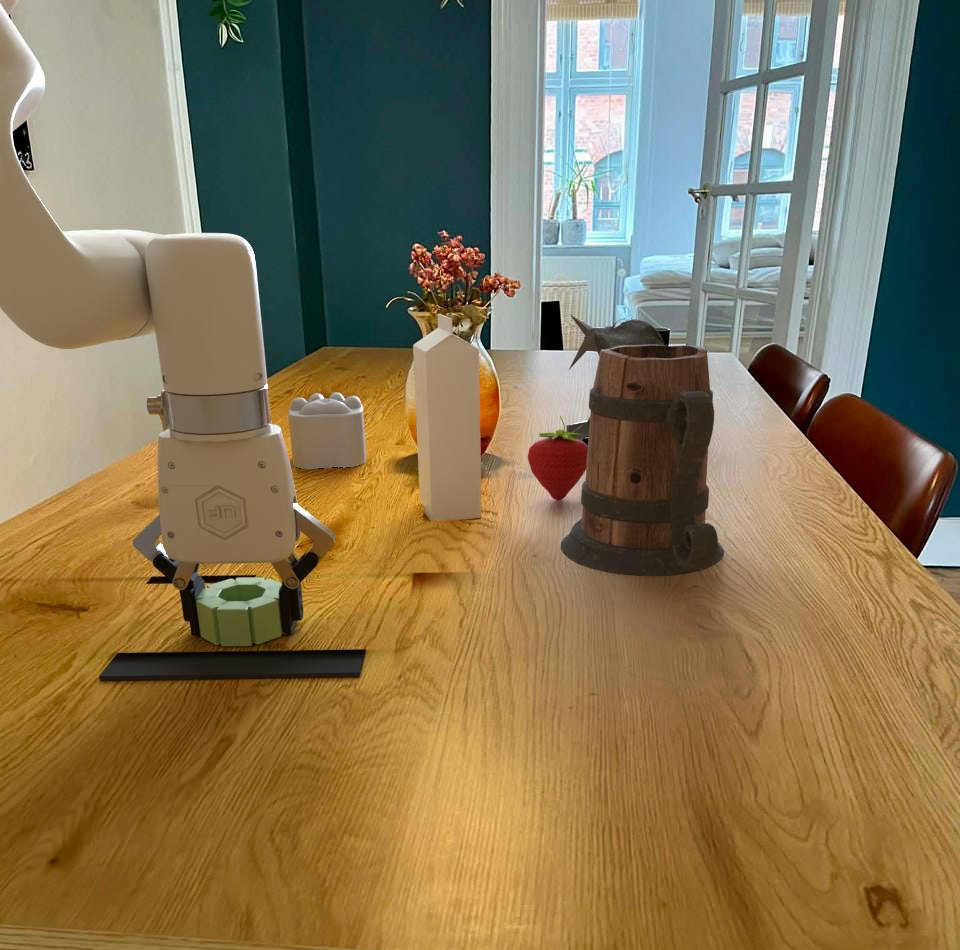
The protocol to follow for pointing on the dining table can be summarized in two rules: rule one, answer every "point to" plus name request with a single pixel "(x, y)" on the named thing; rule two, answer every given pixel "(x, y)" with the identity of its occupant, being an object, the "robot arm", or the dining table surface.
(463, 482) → the milk
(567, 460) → the strawberry
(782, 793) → the dining table surface
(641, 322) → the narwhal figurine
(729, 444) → the dining table surface
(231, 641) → the ring
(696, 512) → the tankard
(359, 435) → the lumpy-topped squat cylinder
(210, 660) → the mat
